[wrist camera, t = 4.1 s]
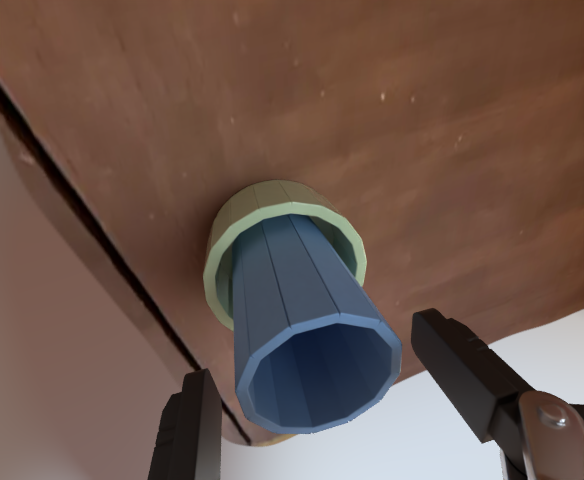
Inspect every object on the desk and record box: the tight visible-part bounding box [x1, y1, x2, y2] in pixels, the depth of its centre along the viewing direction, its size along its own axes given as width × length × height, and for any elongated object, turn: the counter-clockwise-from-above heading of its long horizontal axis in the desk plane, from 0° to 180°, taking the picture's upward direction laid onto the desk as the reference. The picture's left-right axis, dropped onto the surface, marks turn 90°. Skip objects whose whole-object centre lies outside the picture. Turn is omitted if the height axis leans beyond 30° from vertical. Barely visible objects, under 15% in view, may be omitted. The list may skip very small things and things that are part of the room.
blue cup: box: [232, 213, 402, 434], centre depth 14 cm, size 6×6×10 cm
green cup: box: [203, 180, 367, 332], centre depth 17 cm, size 9×9×4 cm
